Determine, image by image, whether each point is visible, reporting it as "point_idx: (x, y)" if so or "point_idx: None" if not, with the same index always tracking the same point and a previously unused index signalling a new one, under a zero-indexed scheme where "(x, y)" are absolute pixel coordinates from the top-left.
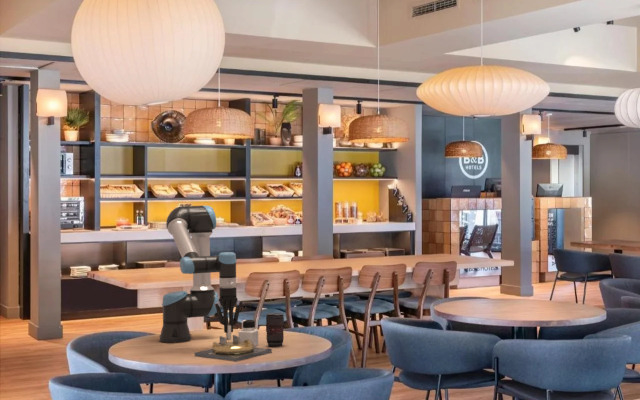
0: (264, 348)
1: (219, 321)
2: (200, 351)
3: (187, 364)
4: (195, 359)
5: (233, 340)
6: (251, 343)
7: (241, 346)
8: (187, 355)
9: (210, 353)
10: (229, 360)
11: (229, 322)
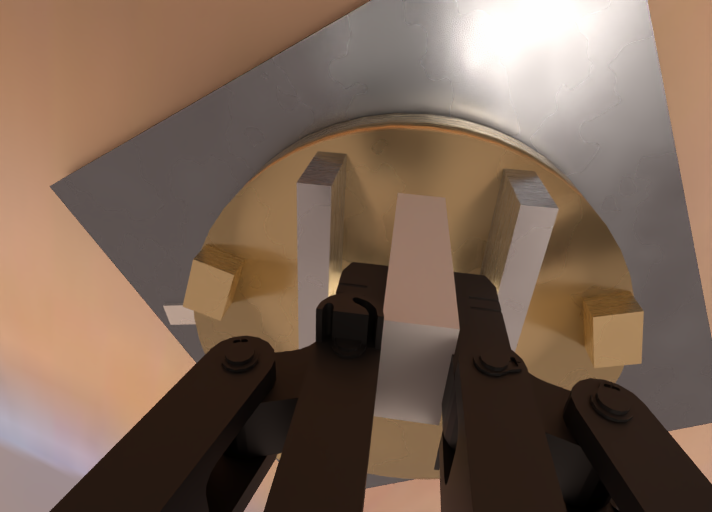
0: (709, 366)
1: (184, 382)
2: (108, 166)
3: (25, 400)
4: (76, 302)
5: (501, 201)
6: (603, 377)
7: (427, 436)
8: (7, 109)
9: (178, 319)
10: None
11: (458, 394)
